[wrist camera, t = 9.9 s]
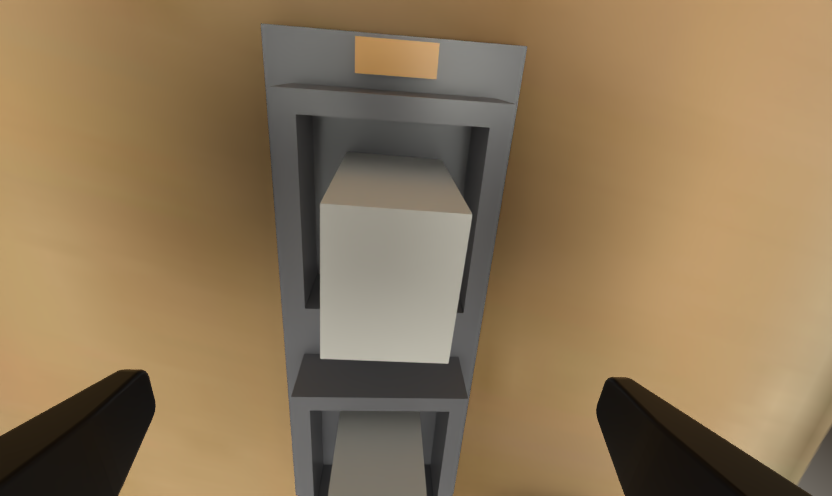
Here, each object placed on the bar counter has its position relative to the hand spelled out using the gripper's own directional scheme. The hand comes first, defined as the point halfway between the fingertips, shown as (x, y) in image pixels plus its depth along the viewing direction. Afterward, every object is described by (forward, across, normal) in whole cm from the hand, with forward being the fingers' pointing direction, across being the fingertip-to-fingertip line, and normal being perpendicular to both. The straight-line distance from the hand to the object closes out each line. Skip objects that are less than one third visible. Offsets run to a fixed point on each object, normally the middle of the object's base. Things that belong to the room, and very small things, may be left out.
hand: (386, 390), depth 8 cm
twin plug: (+11, 0, +13) cm, 17 cm away
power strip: (+12, 0, +6) cm, 13 cm away
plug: (+11, 0, 0) cm, 11 cm away
